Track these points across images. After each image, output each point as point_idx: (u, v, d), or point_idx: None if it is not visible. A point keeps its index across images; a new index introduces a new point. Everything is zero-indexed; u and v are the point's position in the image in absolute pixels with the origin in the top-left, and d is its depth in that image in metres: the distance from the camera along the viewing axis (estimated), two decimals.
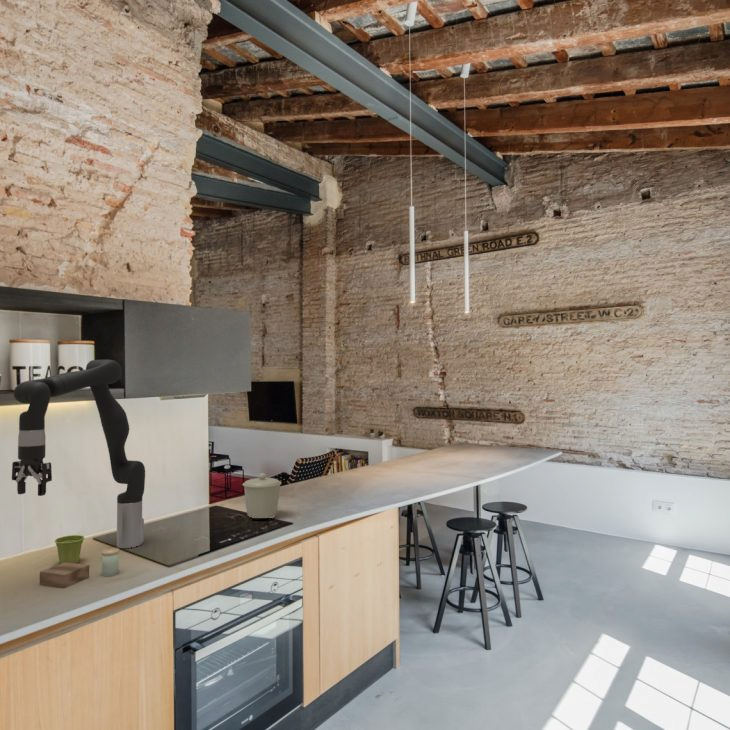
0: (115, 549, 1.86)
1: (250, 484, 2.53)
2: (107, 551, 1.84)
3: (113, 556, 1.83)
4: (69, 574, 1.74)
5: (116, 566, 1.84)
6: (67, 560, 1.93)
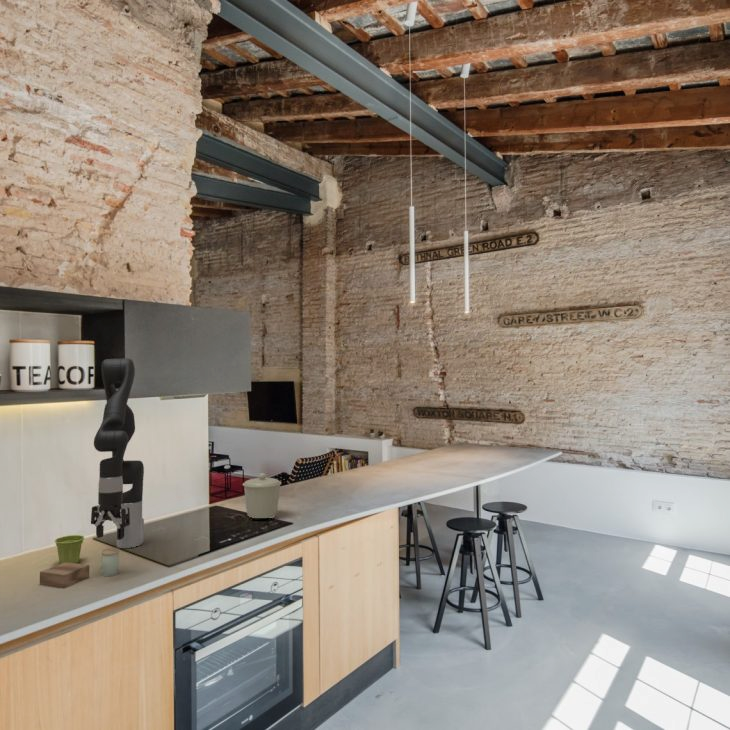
0: (115, 549, 1.86)
1: (250, 484, 2.53)
2: (107, 551, 1.84)
3: (113, 556, 1.83)
4: (69, 574, 1.74)
5: (116, 566, 1.84)
6: (67, 560, 1.93)
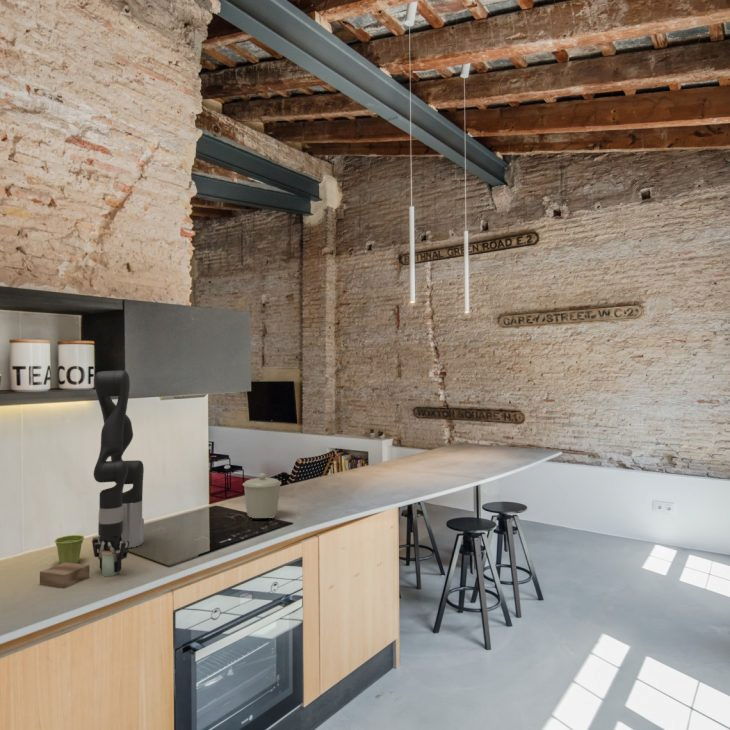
0: None
1: (250, 484, 2.53)
2: (107, 551, 1.84)
3: None
4: (69, 574, 1.74)
5: None
6: (67, 560, 1.93)
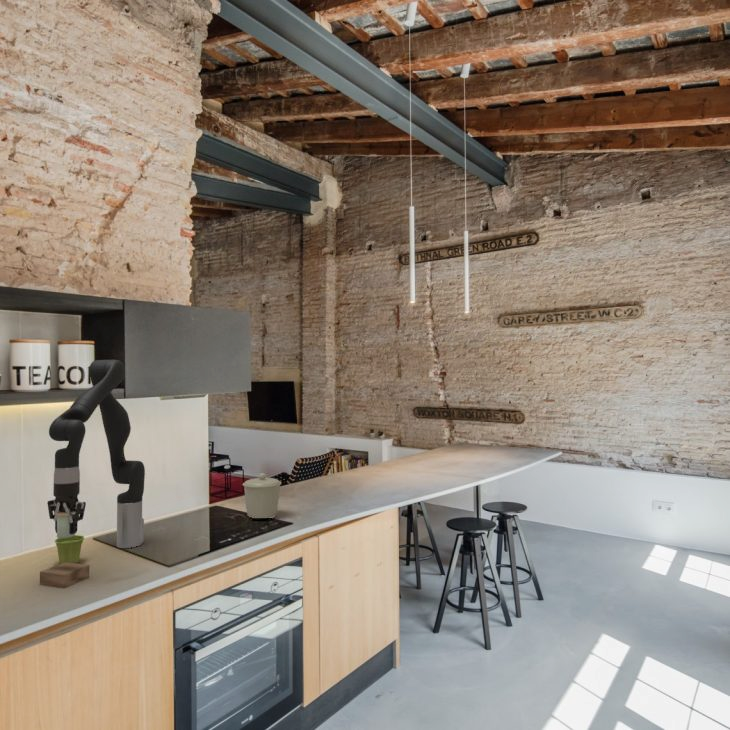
0: None
1: (250, 484, 2.53)
2: (62, 512, 1.78)
3: None
4: (69, 574, 1.74)
5: None
6: (67, 560, 1.93)
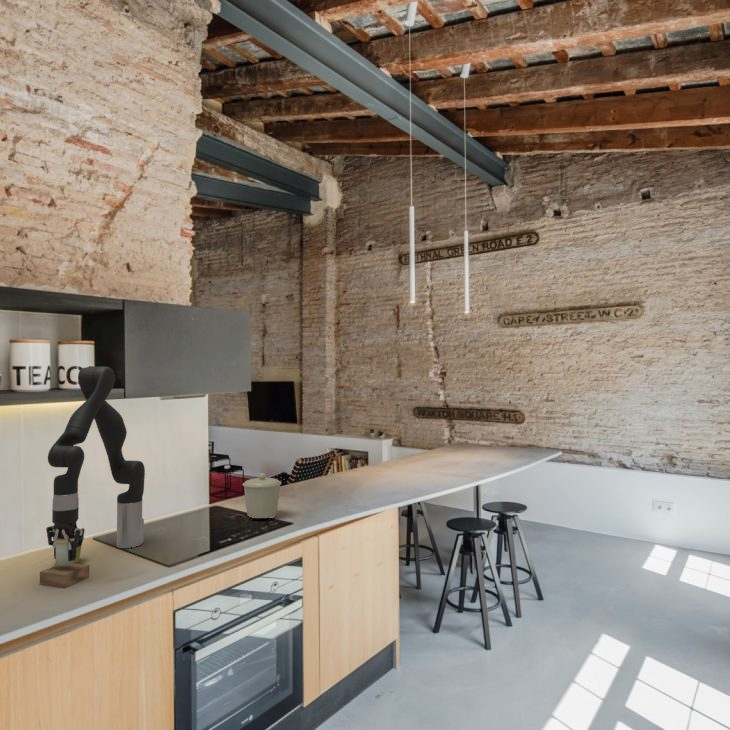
0: None
1: (250, 484, 2.53)
2: (61, 539, 1.77)
3: None
4: (69, 574, 1.74)
5: None
6: None
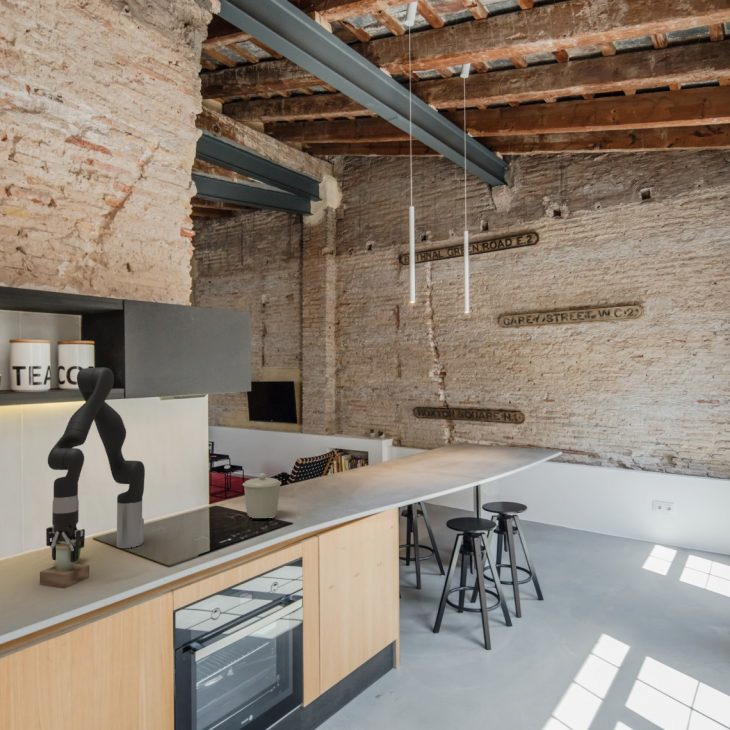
0: None
1: (250, 484, 2.53)
2: (61, 545, 1.77)
3: (68, 550, 1.77)
4: (69, 574, 1.74)
5: None
6: None
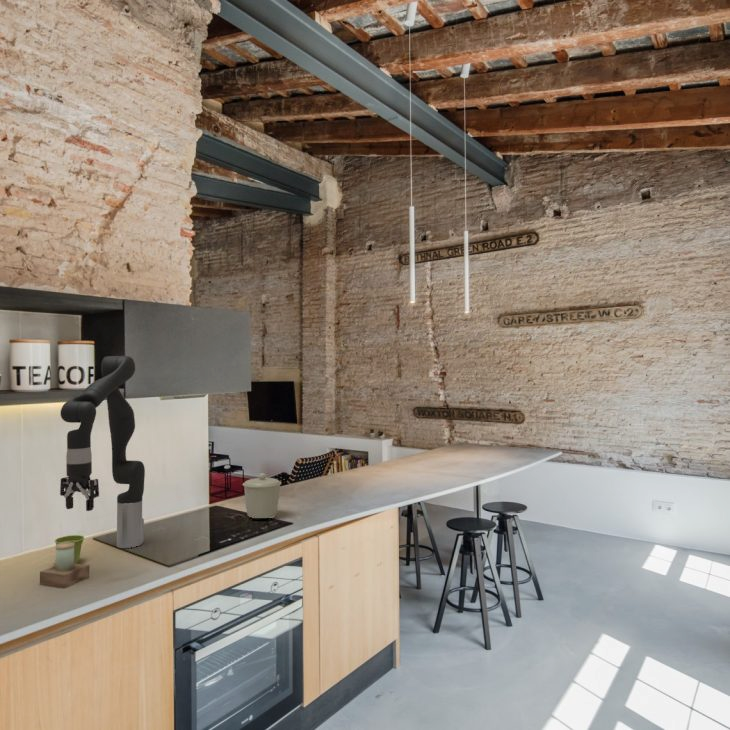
0: (70, 543, 1.79)
1: (250, 484, 2.53)
2: (61, 545, 1.77)
3: (68, 550, 1.77)
4: (69, 574, 1.74)
5: (71, 561, 1.78)
6: None
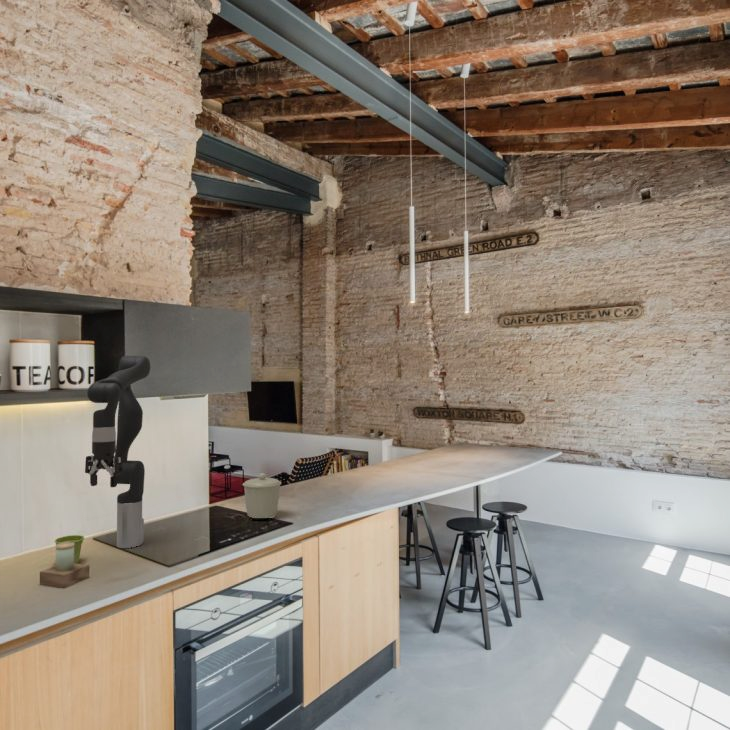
0: (70, 543, 1.79)
1: (250, 484, 2.53)
2: (61, 545, 1.77)
3: (68, 550, 1.77)
4: (69, 574, 1.74)
5: (71, 561, 1.78)
6: None
